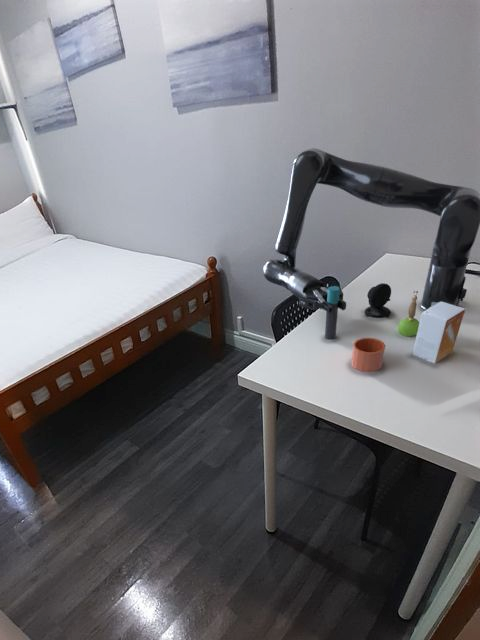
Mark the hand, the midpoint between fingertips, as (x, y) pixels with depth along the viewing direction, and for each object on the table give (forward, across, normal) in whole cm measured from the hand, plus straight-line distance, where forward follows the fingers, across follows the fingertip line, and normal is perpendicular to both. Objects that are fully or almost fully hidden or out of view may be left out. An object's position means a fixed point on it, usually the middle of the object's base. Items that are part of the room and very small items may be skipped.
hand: (338, 308), depth 110 cm
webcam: (-8, +20, +11) cm, 24 cm away
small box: (+17, +17, +11) cm, 27 cm away
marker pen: (-3, 0, +11) cm, 12 cm away
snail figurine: (+6, +19, +11) cm, 23 cm away
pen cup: (+13, 0, +11) cm, 17 cm away
